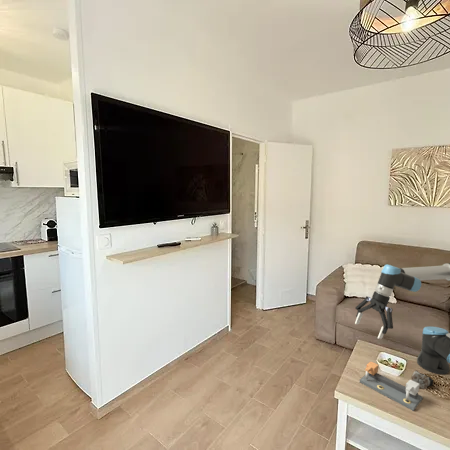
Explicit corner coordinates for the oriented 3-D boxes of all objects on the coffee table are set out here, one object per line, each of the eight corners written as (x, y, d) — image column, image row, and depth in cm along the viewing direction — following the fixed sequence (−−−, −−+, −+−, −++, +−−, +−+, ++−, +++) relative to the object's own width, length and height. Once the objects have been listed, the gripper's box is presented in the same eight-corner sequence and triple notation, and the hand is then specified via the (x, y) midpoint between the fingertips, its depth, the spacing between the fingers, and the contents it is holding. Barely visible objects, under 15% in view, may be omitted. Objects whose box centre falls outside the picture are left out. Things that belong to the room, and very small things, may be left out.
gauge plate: (369, 373, 153) (370, 360, 152) (422, 399, 133) (423, 384, 133) (359, 382, 146) (360, 368, 145) (413, 411, 126) (414, 395, 125)
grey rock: (426, 383, 148) (436, 393, 139) (404, 376, 151) (412, 386, 141) (429, 371, 149) (439, 381, 139) (406, 364, 151) (415, 373, 141)
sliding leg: (370, 370, 152) (370, 361, 151) (377, 374, 149) (378, 364, 148) (362, 377, 146) (362, 367, 146) (370, 381, 143) (370, 371, 142)
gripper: (357, 282, 151) (344, 317, 153) (402, 304, 129) (386, 345, 131) (365, 284, 154) (352, 318, 156) (410, 306, 132) (394, 345, 134)
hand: (367, 330), depth 144 cm, fingers open, 13 cm apart
